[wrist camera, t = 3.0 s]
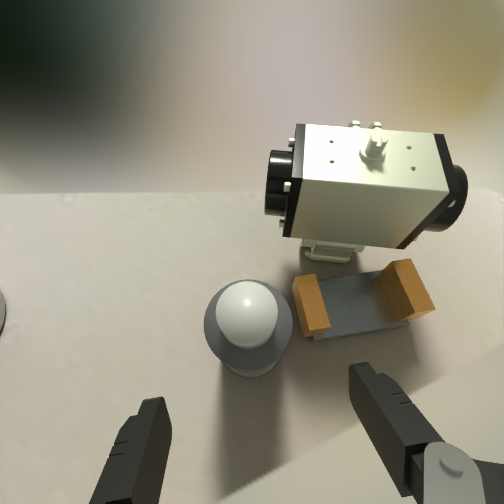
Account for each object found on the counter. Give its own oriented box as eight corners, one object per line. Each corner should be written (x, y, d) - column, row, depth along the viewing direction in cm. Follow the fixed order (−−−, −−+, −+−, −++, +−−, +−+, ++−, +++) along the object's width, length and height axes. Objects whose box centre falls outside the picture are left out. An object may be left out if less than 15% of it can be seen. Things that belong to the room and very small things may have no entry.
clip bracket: (302, 343, 21) (310, 335, 18) (289, 288, 23) (294, 272, 20) (411, 325, 21) (437, 313, 18) (388, 273, 23) (408, 254, 20)
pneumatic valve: (393, 277, 23) (509, 180, 13) (262, 262, 24) (266, 160, 13) (387, 225, 26) (479, 108, 15) (268, 213, 27) (275, 95, 16)
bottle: (225, 382, 19) (198, 374, 11) (219, 320, 22) (193, 271, 13) (286, 372, 20) (309, 355, 11) (274, 312, 22) (285, 258, 13)
